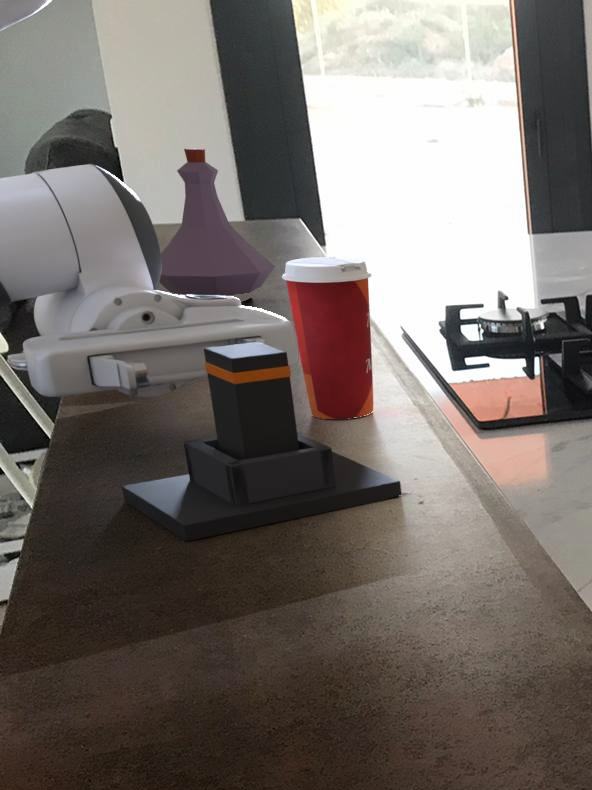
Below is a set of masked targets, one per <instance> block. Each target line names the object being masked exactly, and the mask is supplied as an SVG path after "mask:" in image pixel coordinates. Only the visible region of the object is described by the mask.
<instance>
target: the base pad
mask: <svg viewBox="0 0 592 790" xmlns="http://www.w3.org/2000/svg"><path fill="white" fill-rule="evenodd" d="M297 436H298V444H299V450H296V451H291V452H285V453H279V454H274V455H268V456H262V457H257V458H251V459H245V460H240V461H238V460H236V459H234V458H232V457H230V456H228V455H226V454H224V453H222V452H220V451H219V446H218V439H217V435H216V436H210V437H204V438H199V439H197V438H196V439H192V440H185V441H183V446H184V447H183V448H184V452H185V458H186V464H187V472H188V473H187V474H182V475H176V476H170V477H166V478H159V479H154V480H149V481H142V482H138V483H132V484H127V485H126V484H125V485H122V486H121V490H122V494H123V495H122V496H123V500H124V502H125V503H127V504H129V505H130V506H132V507H133V508H134V509H136V510H137V511H139V512H141V513H142V514H143V515H145V516H146V517H148V518H150V519H151V520H153V521H155V522H156V523H158V524H159V525H160V526H162V527H164V528H165V529H167V530H168V531H170V532H171V533H173V534H174V535H176V536H178V537H179V538H180V539H182V540H184V541H186V542H191V541H196V540H202V539H205V538H206V539H207V538H211V537H215V536H220V535H225V534H231V533H235V532H239V531H243V530H248V529H252V528H258V527H262V526H267V525H272V524H277V523H281V522H286V521H291V520H295V519H300V518H304V517H310V516H315V515H319V514H325V513H328V512H329V513H330V512H333V511H338V510H343V509H348V508H352V507H356V505H357V506H361V505H360V504H362V505H365V504H364V503H367V504H370V503H369V502H371V503H374V502H373V501H376V502H379V501H378V500H381V501H385V500H390V499H394V498H393V497H395V498H397V497H396V496H399V495H402V486H401V481H400V480H398V479H396V478H393V477H391V476H389V475H387V474H386V473H385V474H384V473H382V472H380V471H378V470H376V469H374V468H371V467H369V466H366V465H365V464H362V463H360V462H357V461H356V460H352V459H351V458H348V457H346V456H345V455H342V454H339V453H338V452H335V451H333V447H331V446H328V445H326V444H324V443H321V442H319V441H317V440H315V439H312V438H310V437H308V436H305V435H304V434H301V433H299V432H297ZM389 498H390V499H389ZM384 499H385V500H384Z"/></svg>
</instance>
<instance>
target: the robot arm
mask: <svg viewBox="0 0 592 790" xmlns="http://www.w3.org/2000/svg"><path fill="white" fill-rule="evenodd" d="M52 1H53V0H0V32H2V31H4V30H5V29H7V28H9V27H11V26H13V25H15V24H17V23H19V22H21V21H23V20H26V19H27V18H29V17H31V16H33V15H34V14H36V13H37V12H39V11H40V10H42V9H43V8H44V7H46V6H47V5H49V4H50V3H51V2H52ZM161 253H162V252H161V249H160V243H159V239H158V236H157V232H156V229H155V227H154V224H153V221H152V219H151V217H150V214H149V212H148V210H147V208H146V207H145V205H144V204H143V202H142V201H141V199H140V198H139V196H137V194H136V193H135V192H134V191H133V190H132V189H131V188H129V187H128V186H127V185H126V184H125V183H124V182H123V181H121V180H120V179H119V178H118V177H116V176H115V175H114V174H112V173H111V172H110V171H108V170H106V169H105V168H102V167H101V166H98V165H95V164H93V163H88V164H80V165H71V166H65V167H57V168H51V169H44V170H39V171H33V172H31V173H25V174H19V175H13V176H6V177H0V308H4V307H6V306H10V305H12V304H13V303H14V302H18V301H24V300H28V299H32V298H36V299H35V302H34V305H33V319H34V324H35V327H36V329H37V332H38V334H39V336H34V337H30V338H28V339H26V340H24V341H23V343H22V349H23V350H22V351H21V352H20V353H12V354H9V355H7V359H6V362H7V364H8V366H9V367H10V368H12V369H14V370H17V371H26V372H27V374H28V378H29V382H30V385H31V387H32V388H33V389H34V390H35V391H36V392H37V393H38V394H39V395H41V396H43V397H51V398H63V397H64V398H65V397H70V396H71V397H72V396H77V395H86V394H92V393H99V392H107V391H114V390H115V391H118V392H119V393H122V394H125V395H127V396H130V397H135V398H143V399H145V398H147V399H148V398H158V397H162V396H165V395H167V394H169V393H172V392H173V391H175V390H177V389H178V388H183V387H187V386H189V385H193V384H195V383H197V382H200V381H203V380H206V379H208V374H207V373H206V368H205V362H206V360H205V354H204V348H210V347H218V346H227V345H236V344H244V343H253V342H259V343H262V344H264V345H267V346H270V347H273V348H276V349H279V350H281V351H284V352H287V358H288V366H290V367H293V366H295V365H296V364H298V362H299V360H300V353H299V347H298V340H297V334H296V330H295V325H294V322H292V321H291V320H289V319H287V318H286V317H283V316H281V315H278V314H276V313H273V312H271V311H267V310H264V309H262V308H257V307H252V306H245V305H242V303H241V300H240V299H239V298H237V297H234V296H221V295H178V294H172V293H170V292H168V291H167V292H166V291H162V290H159V289H158V287H159V285H160V283H159V280H160V275H161V270H162V261H161Z"/></svg>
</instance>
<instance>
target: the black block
mask: <svg viewBox="0 0 592 790" xmlns="http://www.w3.org/2000/svg"><path fill="white" fill-rule="evenodd" d="M204 354H205V360H206V362H205V368H206V373H207V374H208V378H207V379H208V386H209V393H210V399H211V407H212V412H213V418H214V425H215V430H216V431H215V432H216V436H217V439H218V446H219V451H220V452H222V453H224V454H226V455H228V456H230V457H232V458H234V459H236V460H238V461H240V460H245V459H251V458H257V457H262V456H268V455H274V454H279V453H285V452H291V451H296V450H299V444H298V436H297V433H298V429H297V423H296V421H297V420H296V413H295V406H294V397H293V391H292V383H291V382H292V381H291V377H292V374H291V366H288V358H287V352H284V351H281V350H279V349H276V348H273V347H270V346H267V345H264V344H262V343H259V342H253V343H244V344H236V345H227V346H218V347H210V348H204Z"/></svg>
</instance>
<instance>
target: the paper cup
mask: <svg viewBox="0 0 592 790" xmlns="http://www.w3.org/2000/svg"><path fill="white" fill-rule="evenodd" d="M284 267H285V269H284V270H285V271H284V273H282V276H281V278H282V279H283V280H284V281H286V287H287V292H288V299H289V303H290V308H291V314H292V320H293V325H294V327H295V330H296V334H297V340H298V347H299V359H300V363H301V368H302V373H303V378H304V384H305V389H306V395H307V399H308V405H309V408H310V413H311V415H313V416H314V417H313V416H312V417H313V418H315V417H318V418H317V419H319V418H321V419H320V420H325V419H347V420H349V419H348V418H354V417H360V416H364V415H367V414H369V413H371V412H372V411H373V412H374V380H373V355H372V336H371V335H372V333H371V332H372V331H371V312H370V291H369V290H370V289H369V288H370V287H369V278H371V277H372V273H371V272H370V271H368V268H367V264H366V262H365V260H364V259H362V258H356V257H345V256H344V257H343V256H321V257H320V256H319V257H318V256H317V257H304V258H296V259H291V260H289V261H286V263H285V266H284Z"/></svg>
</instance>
